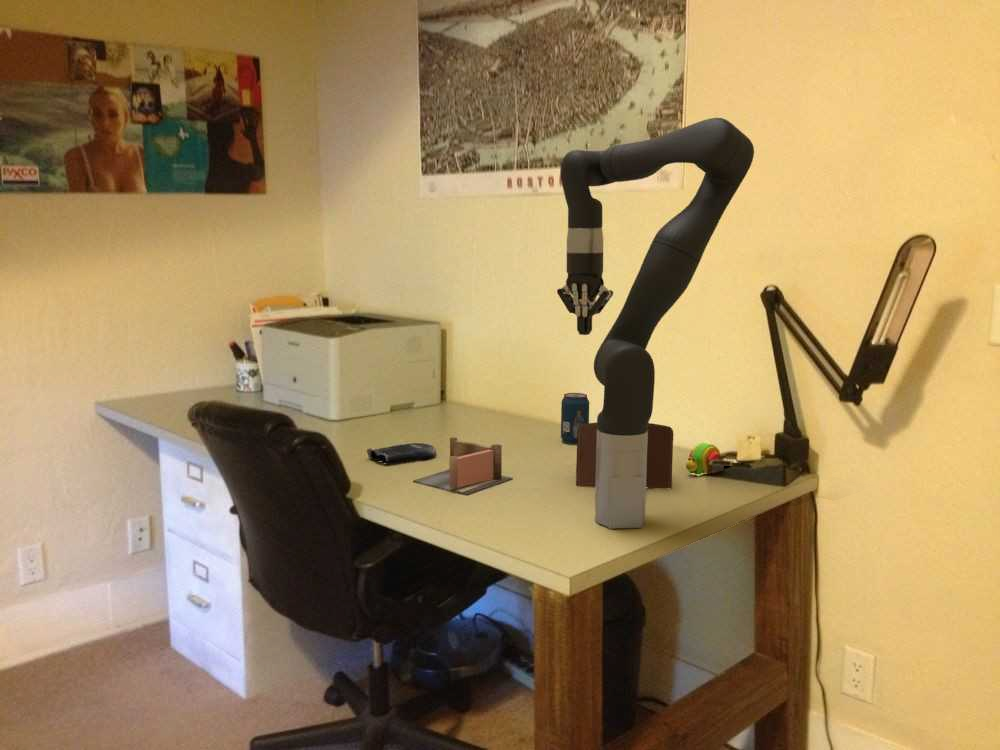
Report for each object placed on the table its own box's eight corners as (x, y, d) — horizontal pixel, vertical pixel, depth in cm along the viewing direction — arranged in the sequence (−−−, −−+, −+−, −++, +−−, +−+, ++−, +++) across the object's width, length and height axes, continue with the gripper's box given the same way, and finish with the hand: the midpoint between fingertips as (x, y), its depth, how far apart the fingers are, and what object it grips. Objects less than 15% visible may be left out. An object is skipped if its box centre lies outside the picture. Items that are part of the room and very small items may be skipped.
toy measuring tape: (675, 474, 200) (676, 445, 199) (729, 460, 213) (731, 432, 212) (699, 480, 195) (700, 451, 194) (753, 465, 208) (754, 437, 207)
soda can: (573, 437, 234) (574, 391, 232) (594, 441, 229) (595, 394, 227) (555, 441, 229) (555, 394, 227) (576, 446, 224) (577, 398, 222)
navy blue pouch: (389, 475, 205) (444, 456, 213) (384, 451, 204) (439, 433, 212) (369, 471, 212) (423, 453, 221) (364, 448, 211) (418, 431, 220)
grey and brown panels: (512, 479, 195) (513, 445, 194) (466, 495, 184) (466, 459, 183) (458, 466, 205) (458, 434, 204) (411, 481, 193) (411, 447, 192)
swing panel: (488, 476, 194) (488, 447, 193) (493, 478, 193) (494, 448, 192) (448, 487, 186) (447, 457, 185) (453, 489, 185) (453, 458, 184)
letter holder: (671, 490, 189) (674, 423, 186) (575, 487, 191) (577, 421, 188) (667, 476, 199) (670, 413, 196) (576, 473, 201) (577, 411, 198)
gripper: (622, 250, 186) (621, 334, 189) (568, 249, 194) (568, 330, 197) (602, 251, 180) (601, 338, 183) (548, 250, 188) (548, 334, 191)
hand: (584, 334), depth 190 cm, fingers closed
